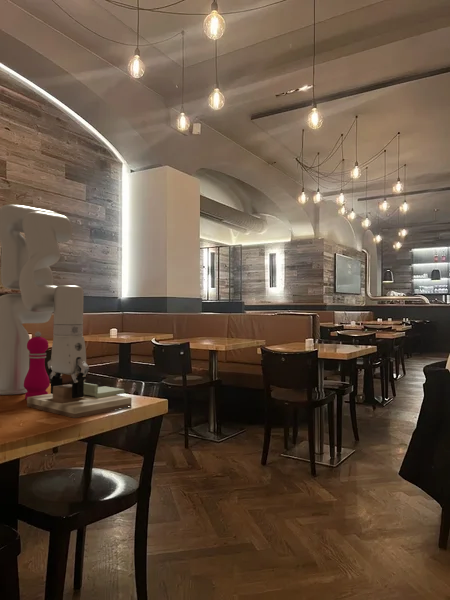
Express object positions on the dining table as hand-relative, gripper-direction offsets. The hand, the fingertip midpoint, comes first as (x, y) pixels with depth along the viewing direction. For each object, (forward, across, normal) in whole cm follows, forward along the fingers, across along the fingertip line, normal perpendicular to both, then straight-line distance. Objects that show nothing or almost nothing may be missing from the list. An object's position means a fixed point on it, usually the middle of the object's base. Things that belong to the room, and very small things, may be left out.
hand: (66, 395), depth 122 cm
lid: (+1, 0, -11) cm, 11 cm away
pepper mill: (+4, +20, -3) cm, 21 cm away
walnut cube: (+3, 0, 0) cm, 3 cm away
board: (+4, 0, -4) cm, 5 cm away
